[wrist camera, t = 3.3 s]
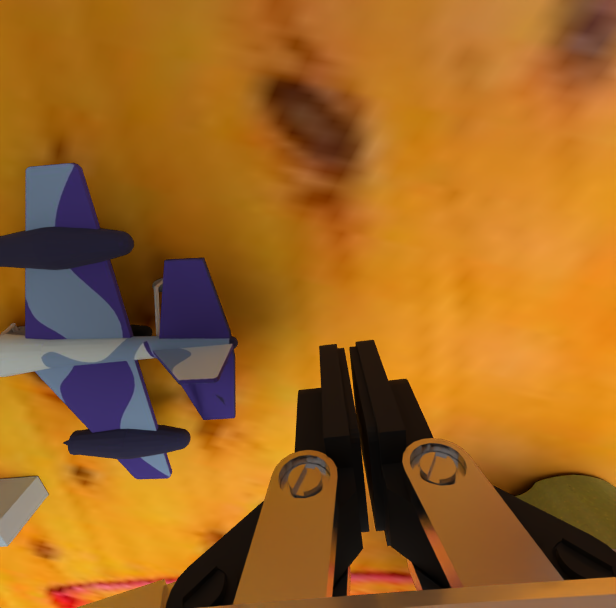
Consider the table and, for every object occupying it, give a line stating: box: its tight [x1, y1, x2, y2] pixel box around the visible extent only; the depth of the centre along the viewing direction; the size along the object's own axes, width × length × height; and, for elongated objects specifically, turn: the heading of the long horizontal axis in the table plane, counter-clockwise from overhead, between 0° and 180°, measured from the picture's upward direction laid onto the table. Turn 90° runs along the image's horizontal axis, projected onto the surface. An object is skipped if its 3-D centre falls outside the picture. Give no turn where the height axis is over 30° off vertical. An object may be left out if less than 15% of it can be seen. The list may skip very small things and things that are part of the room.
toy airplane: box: [0, 163, 238, 479], centre depth 15 cm, size 13×14×4 cm
